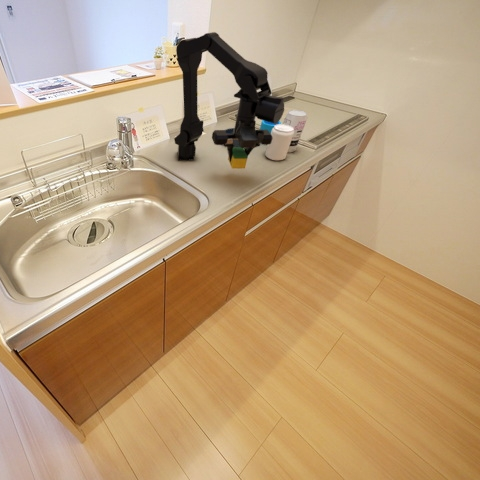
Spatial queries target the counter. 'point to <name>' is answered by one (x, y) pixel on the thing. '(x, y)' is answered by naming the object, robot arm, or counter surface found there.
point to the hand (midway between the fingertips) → (236, 160)
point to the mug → (267, 126)
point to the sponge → (238, 158)
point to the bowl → (235, 142)
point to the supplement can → (295, 126)
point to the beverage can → (279, 142)
